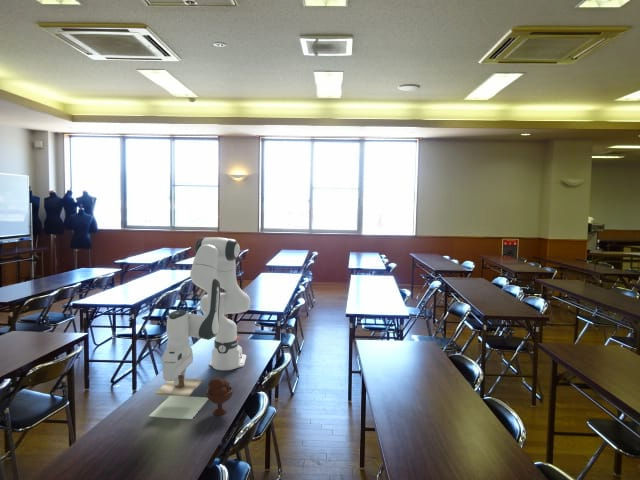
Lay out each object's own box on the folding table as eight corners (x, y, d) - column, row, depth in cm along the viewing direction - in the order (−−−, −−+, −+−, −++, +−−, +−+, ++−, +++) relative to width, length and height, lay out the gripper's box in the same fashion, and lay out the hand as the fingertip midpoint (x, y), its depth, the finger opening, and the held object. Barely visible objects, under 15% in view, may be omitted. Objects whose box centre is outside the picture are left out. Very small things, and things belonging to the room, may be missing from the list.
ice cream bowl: (227, 420, 165) (226, 383, 164) (201, 417, 167) (200, 381, 166) (237, 407, 175) (237, 373, 174) (213, 404, 178) (212, 370, 176)
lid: (171, 379, 183) (171, 368, 182) (202, 381, 181) (202, 370, 181) (155, 394, 169) (155, 383, 169) (188, 396, 167) (188, 385, 167)
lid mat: (170, 396, 185) (170, 395, 185) (209, 398, 183) (209, 397, 183) (149, 416, 168) (148, 415, 168) (191, 419, 165) (191, 418, 165)
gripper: (182, 341, 184) (183, 371, 186) (159, 359, 164) (160, 392, 165) (196, 341, 183) (197, 371, 185) (174, 359, 163) (175, 393, 165)
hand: (179, 381), depth 175 cm, fingers closed on lid, 4 cm apart
